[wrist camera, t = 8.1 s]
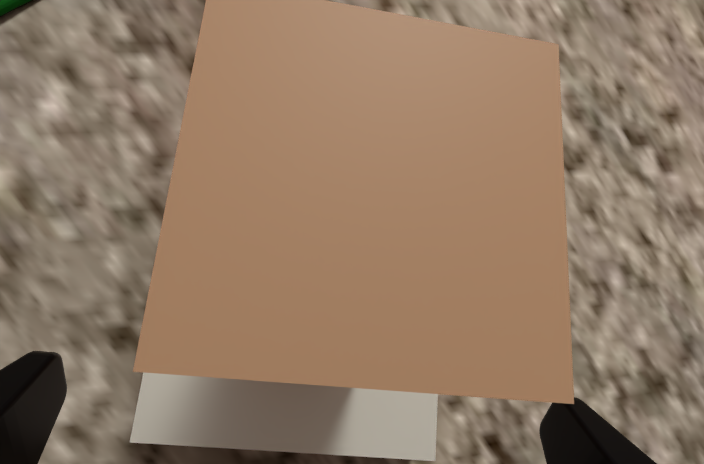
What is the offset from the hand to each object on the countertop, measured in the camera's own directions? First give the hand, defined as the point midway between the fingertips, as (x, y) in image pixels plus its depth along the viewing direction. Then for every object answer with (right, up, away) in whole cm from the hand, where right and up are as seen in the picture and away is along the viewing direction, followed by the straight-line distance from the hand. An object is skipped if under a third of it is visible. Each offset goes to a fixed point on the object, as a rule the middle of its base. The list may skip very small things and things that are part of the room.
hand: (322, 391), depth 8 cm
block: (-1, +1, +8) cm, 8 cm away
